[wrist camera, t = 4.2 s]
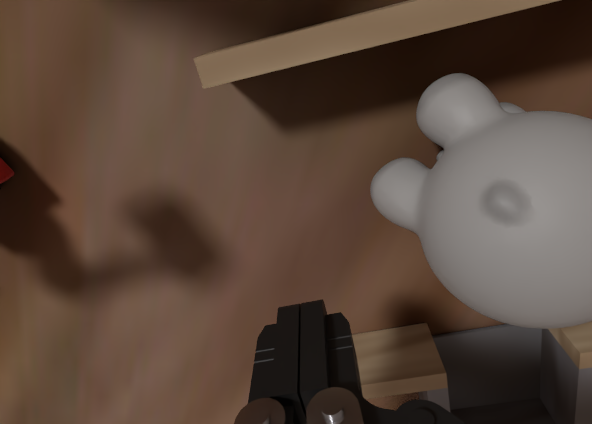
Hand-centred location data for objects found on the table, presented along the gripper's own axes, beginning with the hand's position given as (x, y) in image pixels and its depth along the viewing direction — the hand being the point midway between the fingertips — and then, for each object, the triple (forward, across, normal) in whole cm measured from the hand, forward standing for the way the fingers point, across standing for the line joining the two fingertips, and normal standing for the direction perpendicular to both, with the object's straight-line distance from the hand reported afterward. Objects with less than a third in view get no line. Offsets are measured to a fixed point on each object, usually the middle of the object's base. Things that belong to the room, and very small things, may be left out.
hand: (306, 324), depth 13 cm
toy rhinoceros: (+7, -9, 0) cm, 12 cm away
